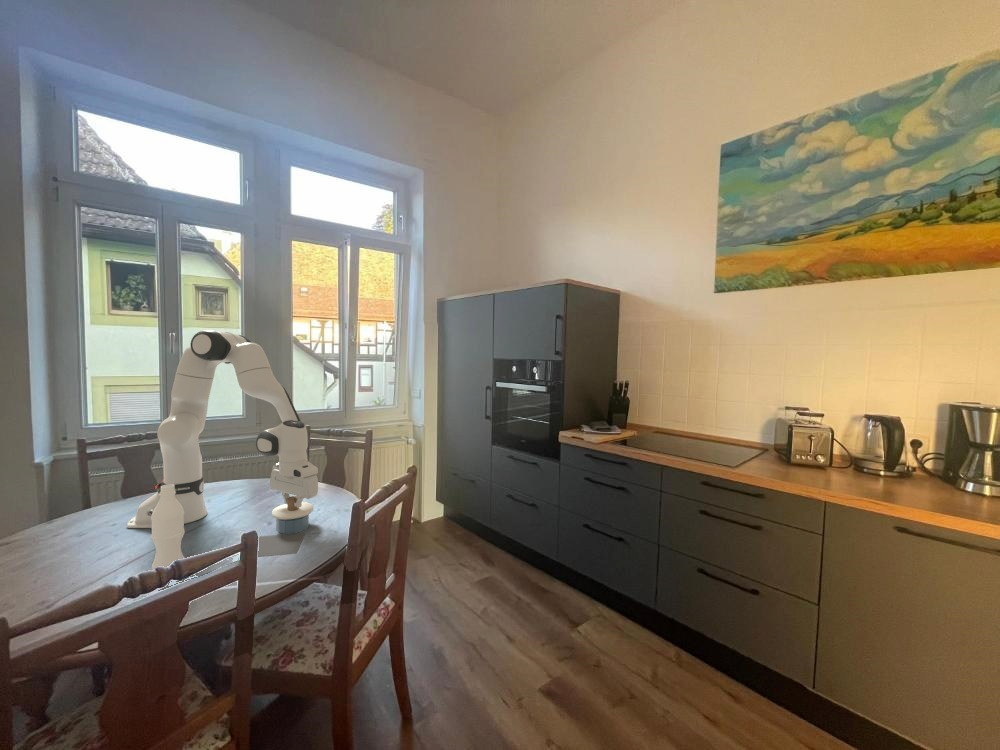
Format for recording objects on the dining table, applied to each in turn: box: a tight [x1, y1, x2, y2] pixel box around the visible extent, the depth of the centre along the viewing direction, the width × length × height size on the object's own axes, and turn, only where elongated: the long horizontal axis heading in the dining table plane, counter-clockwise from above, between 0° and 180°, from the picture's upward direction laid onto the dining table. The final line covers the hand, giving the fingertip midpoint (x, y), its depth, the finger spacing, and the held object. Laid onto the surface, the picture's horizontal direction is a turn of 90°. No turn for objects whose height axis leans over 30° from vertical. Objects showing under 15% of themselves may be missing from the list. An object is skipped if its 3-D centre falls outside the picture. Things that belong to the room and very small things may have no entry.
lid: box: [271, 495, 314, 520], centre depth 142 cm, size 13×13×5 cm
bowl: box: [275, 514, 310, 535], centre depth 142 cm, size 10×10×5 cm
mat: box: [257, 532, 306, 558], centre depth 130 cm, size 14×14×1 cm
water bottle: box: [150, 484, 186, 570], centre depth 112 cm, size 7×7×25 cm
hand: (293, 505), depth 142 cm, fingers closed on lid, 4 cm apart
